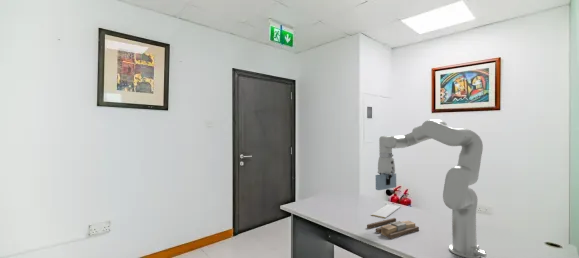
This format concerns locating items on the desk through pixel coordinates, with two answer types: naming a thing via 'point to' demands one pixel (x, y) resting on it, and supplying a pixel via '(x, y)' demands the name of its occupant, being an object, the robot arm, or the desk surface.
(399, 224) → the offcut
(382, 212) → the baseboard molding
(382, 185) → the tall sheet
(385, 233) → the offcut
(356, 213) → the desk surface
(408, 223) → the offcut
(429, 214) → the desk surface
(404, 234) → the offcut rack
